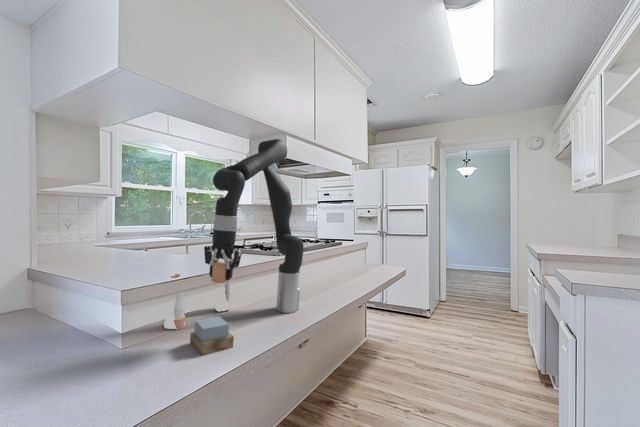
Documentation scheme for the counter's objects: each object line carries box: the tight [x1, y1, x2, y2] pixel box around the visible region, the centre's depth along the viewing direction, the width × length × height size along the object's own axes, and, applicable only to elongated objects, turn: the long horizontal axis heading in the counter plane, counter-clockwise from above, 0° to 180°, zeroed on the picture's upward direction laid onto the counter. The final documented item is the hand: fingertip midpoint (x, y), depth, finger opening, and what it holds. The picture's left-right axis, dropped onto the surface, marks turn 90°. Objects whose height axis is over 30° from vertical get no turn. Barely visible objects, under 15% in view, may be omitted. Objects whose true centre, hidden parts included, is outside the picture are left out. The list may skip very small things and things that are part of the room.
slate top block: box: [194, 316, 230, 342], centre depth 102 cm, size 8×8×4 cm
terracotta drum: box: [211, 261, 229, 283], centre depth 108 cm, size 6×6×6 cm
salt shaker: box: [170, 273, 186, 331], centre depth 115 cm, size 7×7×19 cm
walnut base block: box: [189, 331, 234, 356], centre depth 102 cm, size 10×10×4 cm
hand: (220, 278), depth 107 cm, fingers closed on terracotta drum, 5 cm apart
